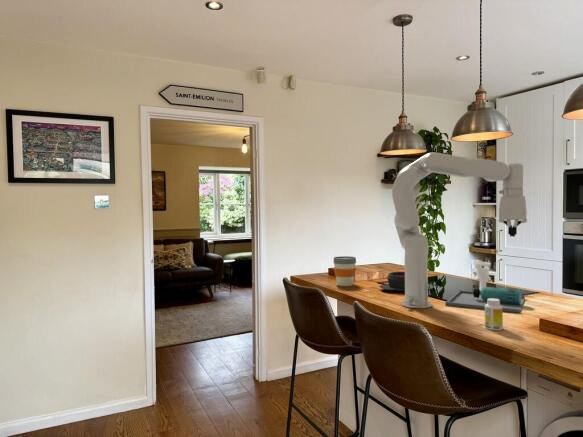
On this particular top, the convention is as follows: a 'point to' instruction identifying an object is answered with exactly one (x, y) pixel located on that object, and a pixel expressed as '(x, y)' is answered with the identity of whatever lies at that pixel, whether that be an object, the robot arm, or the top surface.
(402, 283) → the cup and saucer
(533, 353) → the top surface
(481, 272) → the white tall piece
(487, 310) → the supplement bottle
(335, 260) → the reusable coffee cup
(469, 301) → the grey square tray
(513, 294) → the beverage bottle
